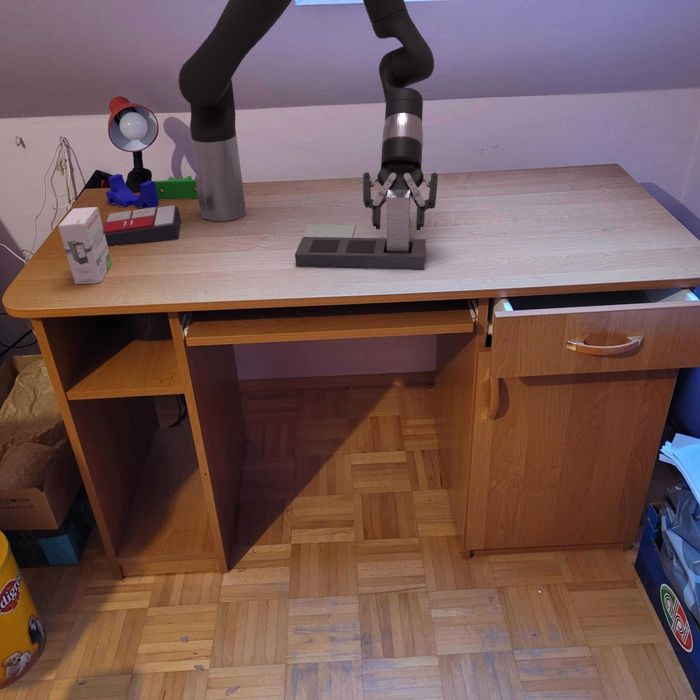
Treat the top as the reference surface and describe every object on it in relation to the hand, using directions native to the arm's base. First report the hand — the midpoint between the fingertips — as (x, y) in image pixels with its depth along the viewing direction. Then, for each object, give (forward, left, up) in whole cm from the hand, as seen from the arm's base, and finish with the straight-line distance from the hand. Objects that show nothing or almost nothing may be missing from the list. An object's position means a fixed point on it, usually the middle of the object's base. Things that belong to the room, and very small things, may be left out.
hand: (398, 228), depth 122 cm
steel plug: (0, +2, -7) cm, 7 cm away
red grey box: (-55, +12, -8) cm, 57 cm away
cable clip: (-64, +28, -7) cm, 70 cm away
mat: (-15, +12, -7) cm, 20 cm away
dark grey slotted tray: (-7, +2, -7) cm, 10 cm away
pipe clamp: (-54, +33, -7) cm, 64 cm away
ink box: (-57, -7, -7) cm, 58 cm away
